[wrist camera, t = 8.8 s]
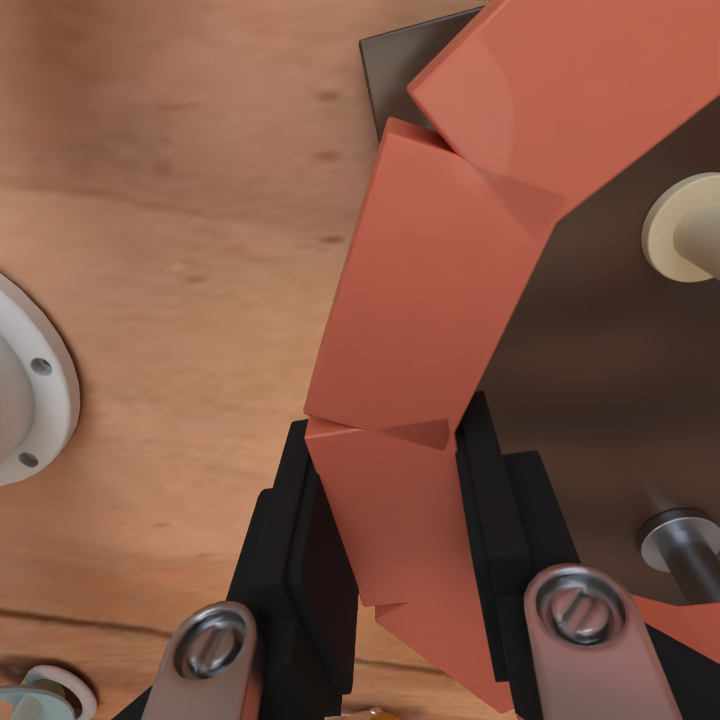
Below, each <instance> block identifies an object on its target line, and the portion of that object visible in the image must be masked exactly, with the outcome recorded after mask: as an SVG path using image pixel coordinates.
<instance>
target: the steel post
mask: <svg viewBox="0 0 720 720" xmlns="http://www.w3.org/2000/svg"><path fill="white" fill-rule="evenodd" d="M636 543H637V548H638V551H639V553H640V554H641V556H642V558H643V560H644V561H645V562H646V563H647V564H648V565H649V566H650V567H652V568H654V569H656V570H659V571H664V572H671V574H672V575H673V577H674V579H675V581H676V582H677V584H678V586H679V588H680V590H681V591H682V593H683V595H684V597H685V598H686V600H687V602H688V604H689V605H697V604H708V603H718V602H720V561H719V559H718V558H717V556H716V555H717V553H718V552H719V551H720V527H719V526H718V525H717V523H716V522H715V521H714V519H713V518H712V517H711V516H709V515H708V514H706V513H704V512H702V511H699V510H695V509H675V510H671V511H667V512H664V513H661V514H659V515H657V516H655V517H654V518H652V519H651V520H649V521H648V522H647V523H646V524H645V525H644V526H643V527H642V528H641V530H640V531H639V533H638V536H637V542H636Z"/></svg>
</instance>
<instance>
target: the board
mask: <svg viewBox="0 0 720 720" xmlns="http://www.w3.org/2000/svg"><path fill="white" fill-rule="evenodd" d="M485 6H486V5H484V6H481V7H477V8H474V9H470V10H466V11H463V12H459V13H455V14H452V15H448V16H445V17H441V18H437V19H434V20H430V21H427V22H423V23H419V24H416V25H412V26H409V27H405V28H401V29H398V30H394V31H390V32H387V33H383V34H380V35H376V36H372V37H369V38H365V39H362V40H360V41H359V48H360V53H361V58H362V63H363V67H364V72H365V77H366V82H367V87H368V92H369V97H370V102H371V107H372V112H373V117H374V122H375V127H376V132H377V137H378V141H379V145H380V142H381V139H382V135H383V132H384V129H385V125H386V122H387V119H388V118H389V117H394V118H397V119H400V120H403V121H406V122H409V123H412V124H415V125H418V126H421V127H424V128H426V129H429V130H432V131H435V132H438V131H437V130H436V129H435V127H434V126H433V125H432V124H431V122H430V121H429V120H428V119H427V117H426V116H425V115H424V114H423V112H422V111H421V110H420V109H419V108H418V106H417V105H416V104H415V103H414V101H413V100H412V99H411V97H410V95H409V94H408V92H407V89H406V88H407V86H408V84H409V83H410V82H411V81H412V80H413V79H414V78H415V77H416V76H417V75H418V74H419V73H420V72H421V71H422V70H423V69H424V68H425V67H426V66H427V65H428V64H429V63H430V62H431V61H432V60H433V59H434V58H435V57H436V56H437V55H438V54H439V53H440V52H441V51H442V50H443V49H444V48H445V47H446V46H447V45H448V44H449V43H450V42H451V40H452V39H453V38H454V37H455V36H456V35H457V34H458V33H459V32H460V31H461V30H462V29H463V28H464V27H465V26H466V25H467V24H468V23H469V22H470V21H471V20H472V19H473V18H474V17H475V16H476V15H477V14H478V13H479V12H480V11H481V10H482V9H483V8H484V7H485ZM438 133H439V132H438ZM709 172H717V173H720V95H719V96H718V97H717V98H716V99H714V100H713V101H712V102H710V103H709V104H708V105H707V106H705V107H704V108H703V109H701V110H700V111H699V112H698V113H696V114H695V115H694V116H693V117H691V118H690V119H689V120H687V121H686V122H685V123H684V124H682V125H681V126H680V127H679V128H677V129H676V130H675V131H673V132H672V133H671V134H670V135H668V136H667V137H666V138H664V139H663V140H662V141H661V142H659V143H658V144H657V145H656V146H654V147H653V148H652V149H650V150H649V151H648V152H647V153H645V154H644V155H643V156H642V157H640V158H639V159H638V160H636V161H635V162H634V163H633V164H631V165H630V166H629V167H628V168H626V169H625V170H624V171H622V172H621V173H620V174H619V175H617V176H616V177H615V178H613V179H612V180H611V181H610V182H608V183H607V184H606V185H605V186H603V187H602V188H601V189H599V190H598V191H597V192H596V193H594V194H593V195H592V196H591V197H589V198H588V199H587V200H585V201H584V202H583V203H582V204H580V205H579V206H578V207H576V208H575V209H574V210H573V211H571V212H570V213H569V214H568V215H566V216H565V217H564V218H562V219H561V220H560V221H559V222H557V223H556V225H555V227H554V230H553V232H552V234H551V236H550V238H549V240H548V242H547V244H546V246H545V248H544V250H543V252H542V254H541V256H540V258H539V260H538V262H537V264H536V267H535V269H534V271H533V273H532V275H531V277H530V279H529V281H528V283H527V285H526V287H525V289H524V291H523V293H522V295H521V297H520V299H519V302H518V304H517V306H516V308H515V310H514V312H513V314H512V316H511V318H510V320H509V322H508V324H507V326H506V328H505V330H504V332H503V334H502V337H501V339H500V341H499V343H498V345H497V347H496V349H495V351H494V353H493V355H492V357H491V359H490V361H489V363H488V365H487V367H486V369H485V372H484V374H483V376H482V378H481V380H480V382H479V384H478V386H477V388H476V390H475V391H481V390H484V393H485V396H486V400H487V403H488V407H489V410H490V414H491V417H492V421H493V425H494V428H495V432H496V435H497V439H498V442H499V446H500V449H501V453H502V455H504V454H511V453H518V452H525V451H532V450H537V451H538V452H539V454H540V456H541V459H542V461H543V464H544V467H545V469H546V472H547V475H548V477H549V480H550V482H551V485H552V488H553V490H554V493H555V496H556V498H557V501H558V504H559V506H560V509H561V511H562V514H563V517H564V519H565V522H566V525H567V527H568V530H569V532H570V535H571V538H572V540H573V543H574V546H575V548H576V551H577V554H578V556H579V559H580V561H581V563H583V564H586V565H590V566H593V567H597V568H600V569H602V570H604V571H605V572H607V573H609V574H611V575H613V576H614V577H616V578H617V579H618V580H619V581H620V582H621V583H622V584H623V585H624V586H625V587H626V588H627V589H628V590H629V592H630V593H631V594H633V595H637V596H640V597H644V598H648V599H652V600H656V601H660V602H664V603H668V604H671V605H675V606H687V605H689V604H688V602H687V600H686V598H685V597H684V595H683V593H682V591H681V590H680V588H679V586H678V584H677V582H676V581H675V579H674V577H673V575H672V574H671V572H664V571H659V570H656V569H654V568H652V567H650V566H649V565H648V564H647V563H646V562H645V561H644V560H643V558H642V556H641V554H640V553H639V551H638V548H637V543H636V542H637V536H638V533H639V531H640V530H641V528H642V527H643V526H644V525H645V524H646V523H647V522H648V521H649V520H651V519H652V518H654V517H655V516H657V515H659V514H661V513H664V512H667V511H671V510H675V509H695V510H699V511H702V512H704V513H706V514H708V515H709V516H711V517H712V518H713V519H714V521H715V522H716V523H717V525H718V526H719V527H720V281H719V280H718V279H716V278H715V277H713V278H710V279H707V280H703V281H698V282H680V281H675V280H672V279H670V278H667V277H666V276H664V275H662V274H661V273H660V272H658V271H657V270H656V269H654V268H653V267H652V266H651V265H650V264H649V263H648V261H647V259H646V258H645V255H644V253H643V250H642V244H641V234H642V228H643V224H644V221H645V219H646V216H647V214H648V212H649V211H650V209H651V207H652V206H653V205H654V203H655V202H656V201H657V199H658V198H659V197H660V196H661V195H662V194H663V193H664V192H665V191H667V190H668V189H669V188H670V187H672V186H673V185H675V184H676V183H678V182H680V181H682V180H684V179H686V178H688V177H691V176H694V175H697V174H701V173H709ZM716 556H717V558H718V559H719V561H720V551H719V552H718V553H717V555H716Z"/></svg>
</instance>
